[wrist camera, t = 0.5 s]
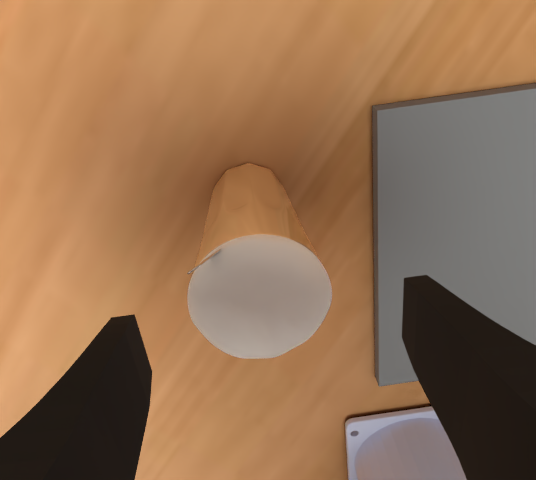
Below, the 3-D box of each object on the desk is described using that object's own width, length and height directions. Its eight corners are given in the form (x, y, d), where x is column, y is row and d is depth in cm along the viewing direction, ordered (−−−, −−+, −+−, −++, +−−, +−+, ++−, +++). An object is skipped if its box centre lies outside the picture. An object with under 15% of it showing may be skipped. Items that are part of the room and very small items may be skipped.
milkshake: (248, 112, 21) (266, 219, 12) (316, 204, 23) (372, 349, 14) (165, 173, 22) (126, 313, 13) (238, 255, 24) (247, 419, 15)
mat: (641, 337, 29) (651, 346, 28) (375, 376, 29) (378, 386, 28) (738, 54, 21) (755, 57, 20) (372, 105, 21) (377, 110, 20)
